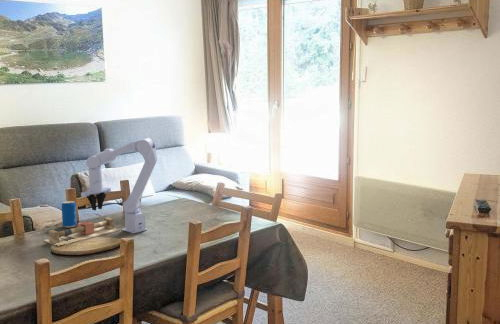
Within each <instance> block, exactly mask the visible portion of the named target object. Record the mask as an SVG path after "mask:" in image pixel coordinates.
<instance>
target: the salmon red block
mask: <svg viewBox="0 0 500 324" xmlns="http://www.w3.org/2000/svg"><path fill="white" fill-rule="evenodd" d="M94 223H95V222H93V221H89V220H87V221H82V222H77V227H81V226H85V231H83V232H81V233H83V234H86V235H87V234H91V233H94Z"/></svg>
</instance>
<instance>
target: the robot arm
mask: <svg viewBox="0 0 500 324" xmlns="http://www.w3.org/2000/svg"><path fill="white" fill-rule="evenodd" d="M156 147H157V146H156V144H155V142H154V140H153V139H152V138H151V137H145V138H142V139H138V140H133V141H131V142H129V143H127V144H124V145H122V146H120V147H117V148H115V149H113V148H105V149H104V150H103V151H101V152H96V153H95V154H94V155H91V156H89V157H88V158H86V162H85V163H86V166H87V168H88V183H89V187H88V188H89V190H86V191H82V192H81V193H80V197H81V198H87V200H88V202H89V203H90V206H91V208H92V211H97V209H98V210H103V204H104V201H105V199H106V198H107V193H111V187H104V188H103V178H102V177H103V175H102V166H103V165H106V164H109V163H111V162H113V161H116V159H117V157H118V156H120V155H123V154H124V153H128V152H131V151H133V152H138V153H139V155H141V156H142V157H143V159H144V164H142V168H141V170H140V172H139V175H138V177H137V180H136V181H135V184H134V185H133V188H132V191H131V193H130V194H129V196H128V198H127V199H126V200H124V202H123V204H122V208H123V211H124V224H125V225H124V226H125V227H123V228H121V230H122V231H124V232H127V233H131V234H138V233H141V232H145V231H147V230H148V229H147V228H146V217H145V214H143V213H142V210H141V208H140V207H141V205H142V198H143V193H144V191H145V189H146V187H147V185H148V182H149V181H150V178H151V175H152V173H153V171H154V168H155V166H156V165H157V162H158V156H157V148H156Z"/></svg>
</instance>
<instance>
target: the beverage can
mask: <svg viewBox="0 0 500 324" xmlns="http://www.w3.org/2000/svg"><path fill="white" fill-rule="evenodd" d="M76 203H77V202H75V201H74V200H67V201H63V202H62V203H61V219H62V221H61V222H62V226H63V227H64V228H68V229H70V228H76V226H78V222H77V219H78V218H77V204H76Z"/></svg>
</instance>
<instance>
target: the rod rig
mask: <svg viewBox="0 0 500 324" xmlns="http://www.w3.org/2000/svg"><path fill="white" fill-rule="evenodd" d="M114 221H115V220H114V218H111V217H108V216H107V217H104V218H103V221H99V222H93V223H94V233H91V234H87V235H86V234H83V233H81V232H83V231H85V226H81V227H78V226H77V227H72V228H68V229H63V230H60V231H56V230H53V229H51V230H48V238H47V239H44V240H43V241H44V243H48V244H50V245H53V244H56V243H60V242H63V241H68V240H71V239H77V238H85V237H94V238H97V237H101V236H105V235H109V234H111V233H116V232H119V231H120V229H118V228H116V227H115V222H114Z"/></svg>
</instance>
